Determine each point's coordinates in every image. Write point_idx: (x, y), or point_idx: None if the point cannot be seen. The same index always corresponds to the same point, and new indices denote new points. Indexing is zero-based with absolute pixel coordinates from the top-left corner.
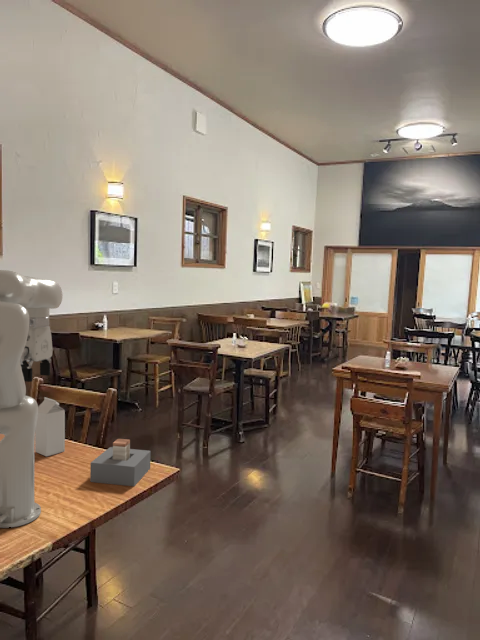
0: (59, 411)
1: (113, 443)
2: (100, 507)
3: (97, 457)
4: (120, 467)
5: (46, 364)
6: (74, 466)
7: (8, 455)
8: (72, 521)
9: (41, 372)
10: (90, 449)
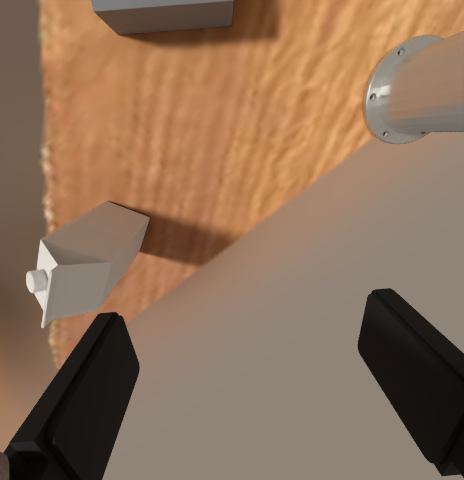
0: (62, 246)
1: None
2: None
3: (189, 2)
4: None
5: (70, 439)
6: (167, 126)
7: None
8: None
9: (130, 378)
10: (61, 152)
